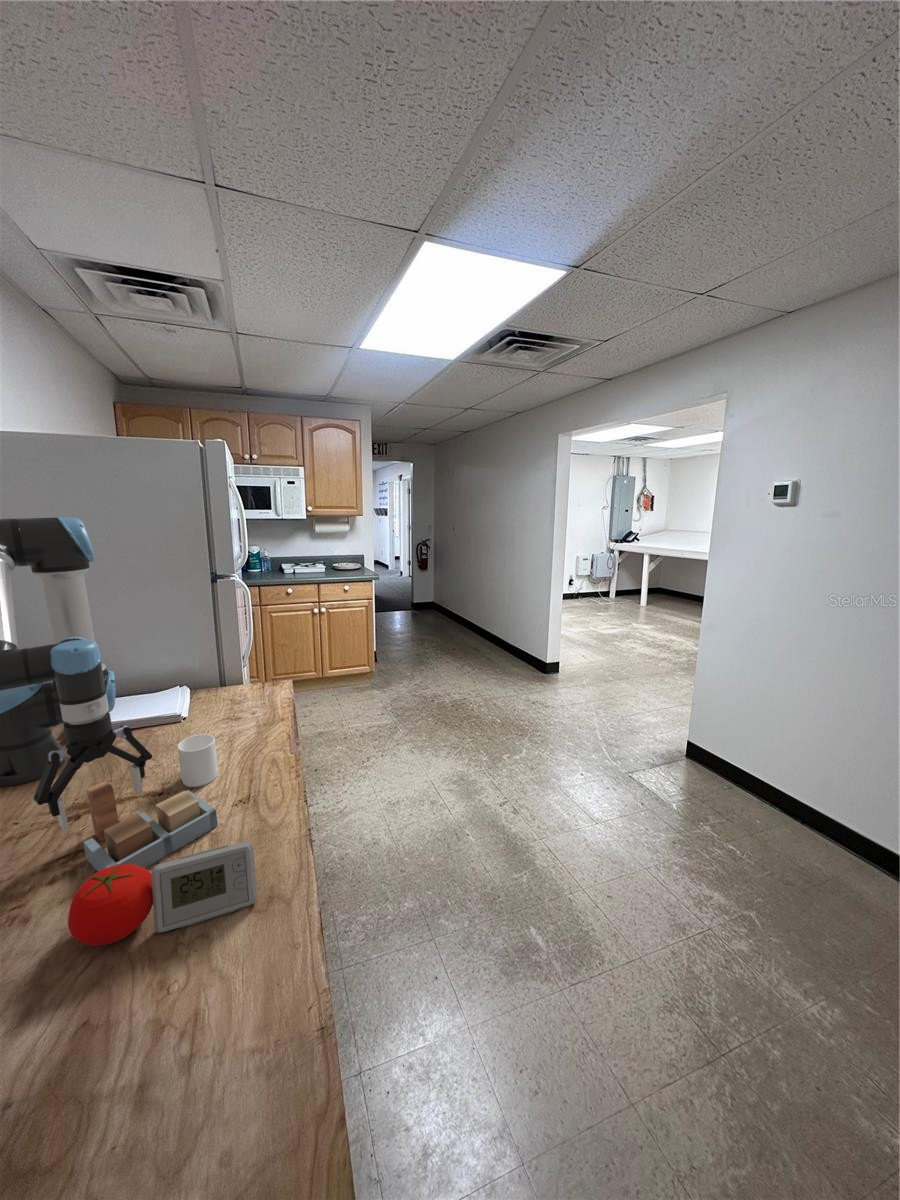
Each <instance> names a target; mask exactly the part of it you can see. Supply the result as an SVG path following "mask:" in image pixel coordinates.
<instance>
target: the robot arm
mask: <svg viewBox="0 0 900 1200" xmlns="http://www.w3.org/2000/svg"><path fill="white" fill-rule="evenodd" d="M95 561H96V557H95V553H94V550H93V546H92V544H91V540H90V538H89V535H88V532H87V529H86V527H85V524H84V522H83V521H82V520H81V519H80V518H77V517H60V516H55V517H34V518H33V517H29V518H27V517H26V518H24V517H23V518H0V787H9V786H16V785H21V784H26V783H29V782H32V781H33V782H34V781H36V780H38V779H40V781H39V783H38V786H37V789H36V790H35V792H34V795H33V799H32V800H34V801H35V803H36V804H37V805H38V806H41V805H44V804H47V806H48V811H49V814H51V816H52V817H53V818H56V817H57V821H58V826H59V827H60V828H61V829H62V830H63V831H67V830H69V823H68V818H67V814H66V813H67V812H66V807H65V803H64V799H63V797H61V795H62V794H63V792H64V791H65V789H66V788H67V786H68V785H69V783H70V782H71V780H72V779H73V777H74V775H76V773H77V771H78V770H80V769H81V767H82V766H83V765H84V763H87V764H89V763H91V762H93V761H94V760H96V759H101V758H104V757H105V756H106V755H107V754H108V753H110V754H112V755H115V756H117V757H118V758H121V759H123V760H125V761H128V762H129V763H131V764H129V768H130V775H131V779H132V780H131V781H132V787H133V791H134V792H135V793H136V794H137V795H139V796H141V795H143V794H144V790H143V783H142V779H144V778H145V777H146V774H145V773H146V771H145V766H146V765H147V763H146V762H147V761H148V760H151V759H152V758H153V755H152V753H151V752H149V750H148V749H146V748H145V746H144V745H143V743H141V742H139V740H138V739H137V738H136V737H135V736H134V735H133V732H132V729H131V728H130V726H127V725H126V724H121V725H120V727H119V728H117V729H115V730H113V726H112V725H113V724H112V719H111V712H112V711H113V710H114V708H115V704H116V681H115V679H116V677H115V672H114V671H113V670H108V669H107V665H106V664H104V663H103V662H102V655H101V652H100V649H99V645H98V643H97V642H96V641H95V638H96V637H95V634H94V629H93V622H92V616H91V610H90V604H89V598H88V592H87V585H86V582H85V580H86V579H85V575H86V574H87V572H89V570H90V569H91V567H90V563H93V562H95ZM16 567H30V569H31V574H33V575H35V576H36V577H38V578H39V579H40V580H41V585H42V589H43V595H44V599H45V601H44V602H45V606H46V610H47V617H48V621H49V622H48V623H49V628H50V632H51V638H52V641H53V643H50V644H46V645H40V646H33V647H25V648H19V645H18V643H19V642H18V636H17V635H18V634H17V625H16V616H15V607H14V597H13V590H12V580H11V579H12V578H11V575H12V574H13V573H14V571H15V570H16ZM61 725H62V726H63V728H64V734H65V739H66V746H65V748H63V747H62V745H61V744H60V743H59V742H58V740H57V738H56V736H54V735H53V732H52V728H53V727H56V726H61ZM117 737H119V738H121V739H124V740H125V741H127V743H128V744H129V745H131V747H133V749H135V750H136V752H138V754H140V755H139V756H137V755H134V754H131V753H130V752H127V751H126V750H123V749H122V748H119V747H118V746H115V745H114V742H115V740H116V739H117ZM66 755H68V756H70V757H69V758H68V759H67V758H66ZM66 760H67V761H66ZM65 762H66V765H65V766H64V768H63V769H62V771H61V772H60V774H59V775H58V777H57V778H56V776H57V774H58V771H59V768H61V767H62V766H63V765H64V764H65ZM55 778H56V780H55ZM54 780H55V781H54Z"/></svg>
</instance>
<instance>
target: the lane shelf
mask: <svg viewBox="0 0 900 1200" xmlns="http://www.w3.org/2000/svg"><path fill="white" fill-rule="evenodd" d="M185 791H186V792H187V793H188V794H190V795H191V796H192V797H194V798H195V799H197V800H198V801H199V809H200V817H198V818H196V819H194V820H192V821H191V822H189V823H187V824H185V825H183V826H182V827H180V828H178V829H176V830H174V831H173V832H171V833H168V832H167V831H165V830H164V829H163V828H162V827H161V826H160V825H159V824H158V822H156V821H155V820H154V819H153V818H151V817H150V816H149V815H148V814H147V813H146V812H145V811H142V812H140V813H137V814H138V815H140V816H141V817H142V818H143V819H144V820H145V821H146V822H148V823H149V824H150V825H151V828H152V835H153V841H154V842H153V843H151V844H149V845H147V846H146V847H144V848H142V849H140V850H138V851H137V852H135V853H133V854H131V855H129V856H128V857H126V858H124V859H122V860H120V861H119V862H117V863H116V862H115V861H114V860H113V859H112V858H111V857H110V856H109V855H108V852H107V851H105V850H104V848H103V847H102V846H101V845H100V844H99V843H98V842H97V841H96V840H95V839H94V838H93V837H91V838H88V839H86V840H84V841H83V847H84V853H85V859H86V860H87V861H88V862H89V864H90V865H91V866H92V867H93V868H94V869H95V870H96V871H97V872H99V871H100V870H103V869H105V868H108V867H111V866H115V865H120V864H121V865H125V864H132V865H137V866H140V867H143V868H145V869H147V868H148V867H150V866H151V865H153V864H155V863H157V862H158V861H160V860H162V859H163V858H165V857H166V856H169V855H170V854H172V853H174V852H175V851H177V850H179V849H181V848H182V847H184V846H186V845H188V844H189V843H190V842H193V841H195V840H196V839H198V838H199V837H201V836H202V835H205V834H206V833H208V832H209V831H211V830H213V829H215V828H216V827H218V825H219V824H218V815H217V809H216V808H214V807H213V806H211V805H210V804H209V803H207V801H204V800H203V799H201V798H200V797H199V796H198V795H196V794H195V793H193V792H192V791H190V790H189V789H186V790H185Z"/></svg>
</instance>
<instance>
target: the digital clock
mask: <svg viewBox="0 0 900 1200" xmlns="http://www.w3.org/2000/svg"><path fill="white" fill-rule="evenodd" d="M255 864H256V863H255V852H254V845H253V842H252V841H248V840H245V841H241V842H238V843H234V844H230V845H228V844H226V845H222V846H219V847H215V848H211V849H207V850H203V851H199V852H195V853H190V854H186V855H184V856H179V857H178V858H177V859H172V860H169V861H164V862H161V863H158V864H156V865H155V866H153V867H152V869H151V873H152V892H153V906H152V908H153V920H154V928H155V931H156V933H165V932H169V931H172V930H175V929H178V928H179V929H182V928H185V927H188V926H192V925H195V924H198V923H201V922H204V921H207V920H210V919H214V918H216V917H220V916H224V915H227V914H230V913H233V912H236V911H237V910H239V909H243V908H246V907H249V906H252V905H253V904H255V903H256V902H257V900H258V888H257V877H256V865H255Z"/></svg>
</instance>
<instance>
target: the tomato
mask: <svg viewBox="0 0 900 1200" xmlns="http://www.w3.org/2000/svg"><path fill="white" fill-rule="evenodd" d="M88 877H89V878H87V879H86V881H84V882H83V884H81V885H80V887H79V888H78V889H77V891H76V892H75V894H74V896H73V898H72V900H71V903H70V907H69V911H68V917H67V926H68V930H69V933H70V935H71V936H72V938H73V939H74V940H75V941H78V942H79V943H81V944H84V945H87V946H93V947H94V946H96V947H101V946H105V945H109V944H113V943H115V942H118V941H121V940H123V939H124V938H126V937H127V936H129V935H130V934H132V933H133V932H135V930H136V929H137V928H139V927H140V926H141V925H142V924H143V923H144V921H145V920H146V919H147V917H148V916H149V915H150V912H151V910H152V908H153V892H152V872H151V871H149V870H148V869H147V868H143V867H140V866H137V865H132V864H125V865H121V864H120V865H115V866H111V867H108V868H105V869H103V870H100V871H99V872H98V871H97V872H95V873H94V874H92V875H89V876H88Z"/></svg>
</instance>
